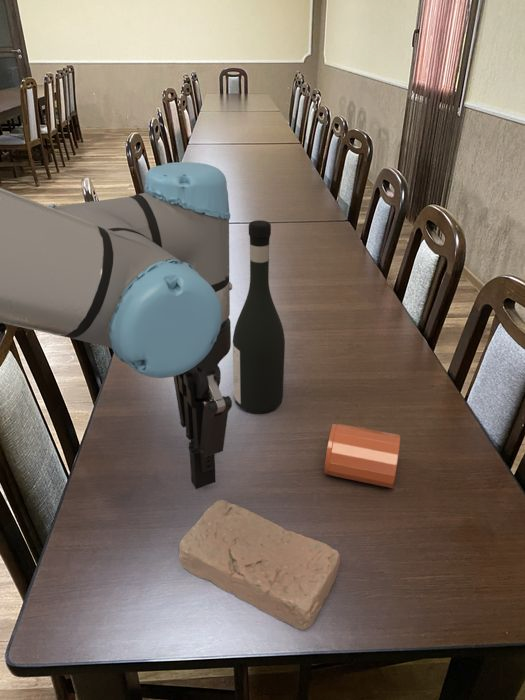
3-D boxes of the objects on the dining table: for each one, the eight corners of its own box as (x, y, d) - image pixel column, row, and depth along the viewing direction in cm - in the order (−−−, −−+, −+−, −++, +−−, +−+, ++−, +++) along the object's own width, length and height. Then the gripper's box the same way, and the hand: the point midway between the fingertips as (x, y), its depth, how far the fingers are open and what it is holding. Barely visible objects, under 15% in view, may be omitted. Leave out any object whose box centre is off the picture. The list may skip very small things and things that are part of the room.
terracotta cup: (322, 473, 69) (393, 487, 67) (332, 419, 71) (401, 432, 69) (326, 475, 76) (391, 488, 74) (335, 426, 77) (398, 438, 75)
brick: (176, 568, 61) (173, 540, 58) (217, 518, 67) (216, 491, 65) (307, 640, 54) (310, 612, 52) (340, 577, 60) (344, 549, 58)
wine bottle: (226, 410, 86) (221, 228, 71) (243, 383, 93) (242, 211, 77) (274, 420, 84) (279, 235, 69) (288, 392, 90) (296, 217, 75)
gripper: (255, 337, 53) (253, 505, 65) (203, 288, 63) (210, 443, 75) (184, 355, 50) (195, 528, 62) (141, 301, 60) (158, 460, 72)
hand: (203, 481), depth 69 cm, fingers closed
